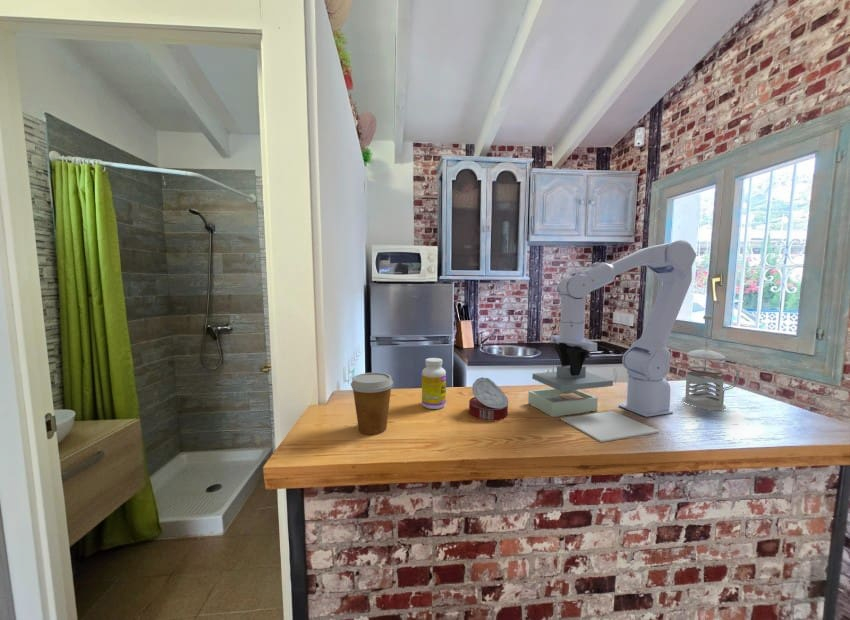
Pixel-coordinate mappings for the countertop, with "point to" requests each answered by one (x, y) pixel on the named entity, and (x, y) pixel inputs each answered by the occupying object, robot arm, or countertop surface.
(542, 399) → the storage box
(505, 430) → the countertop surface
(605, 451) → the countertop surface
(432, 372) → the supplement bottle
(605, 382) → the lid
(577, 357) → the robot arm
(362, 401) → the disposable coffee cup
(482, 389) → the canned food
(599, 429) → the mat
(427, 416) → the countertop surface
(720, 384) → the french press
